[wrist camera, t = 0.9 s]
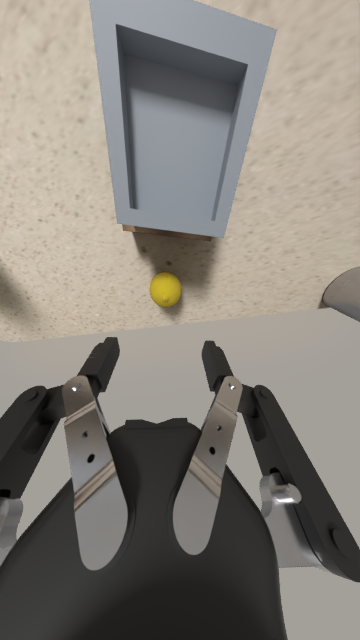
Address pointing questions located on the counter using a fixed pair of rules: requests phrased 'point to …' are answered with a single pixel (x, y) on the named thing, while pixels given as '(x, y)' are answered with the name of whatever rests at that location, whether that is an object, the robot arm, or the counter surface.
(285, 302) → the counter surface
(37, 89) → the counter surface
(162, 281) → the lemon
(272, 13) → the counter surface
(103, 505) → the robot arm
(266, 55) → the slate cup block
